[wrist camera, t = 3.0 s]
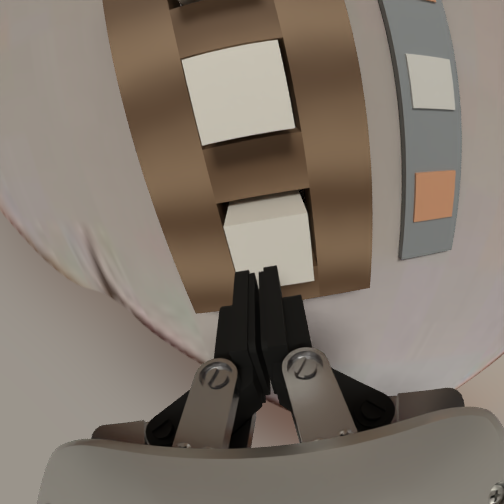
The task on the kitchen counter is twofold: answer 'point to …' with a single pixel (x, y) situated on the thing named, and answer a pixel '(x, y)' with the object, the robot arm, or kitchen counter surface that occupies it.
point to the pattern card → (426, 123)
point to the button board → (249, 147)
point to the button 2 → (271, 236)
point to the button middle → (239, 92)
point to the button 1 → (188, 1)
